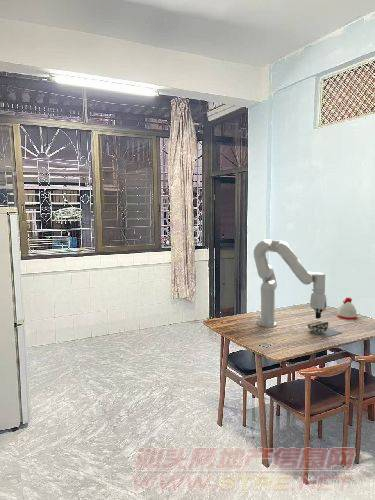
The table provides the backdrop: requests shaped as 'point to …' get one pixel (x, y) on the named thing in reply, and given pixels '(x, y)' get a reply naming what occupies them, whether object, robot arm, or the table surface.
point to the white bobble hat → (347, 310)
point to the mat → (328, 333)
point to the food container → (318, 327)
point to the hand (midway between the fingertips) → (318, 318)
